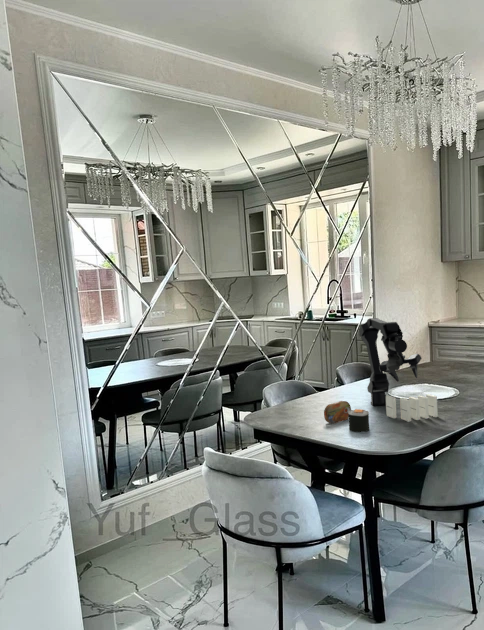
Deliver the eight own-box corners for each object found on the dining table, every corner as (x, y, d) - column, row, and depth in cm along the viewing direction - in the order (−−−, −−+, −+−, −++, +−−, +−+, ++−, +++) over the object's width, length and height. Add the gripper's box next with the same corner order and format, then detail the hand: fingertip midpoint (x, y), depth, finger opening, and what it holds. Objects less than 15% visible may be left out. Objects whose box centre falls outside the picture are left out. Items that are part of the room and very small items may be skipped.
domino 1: (393, 418, 212) (392, 398, 211) (386, 415, 216) (385, 395, 216) (396, 417, 212) (395, 397, 211) (389, 415, 217) (388, 395, 216)
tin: (328, 425, 207) (327, 406, 207) (323, 424, 210) (322, 405, 209) (352, 418, 216) (351, 399, 215) (346, 417, 219) (345, 398, 218)
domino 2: (408, 421, 206) (407, 400, 205) (400, 418, 210) (399, 398, 210) (411, 421, 206) (410, 400, 206) (404, 418, 211) (403, 397, 210)
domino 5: (434, 417, 210) (433, 396, 209) (426, 414, 214) (426, 394, 214) (437, 416, 210) (436, 396, 210) (429, 414, 215) (429, 394, 214)
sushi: (350, 426, 205) (349, 407, 204) (370, 427, 202) (369, 408, 201) (347, 431, 197) (346, 412, 197) (368, 432, 194) (367, 413, 194)
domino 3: (416, 420, 207) (416, 399, 206) (409, 417, 212) (408, 397, 211) (420, 419, 207) (419, 399, 207) (412, 416, 212) (411, 396, 212)
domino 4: (425, 418, 208) (424, 398, 208) (418, 415, 213) (417, 395, 212) (428, 418, 209) (428, 397, 208) (421, 415, 214) (420, 395, 213)
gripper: (368, 361, 218) (382, 391, 220) (406, 352, 206) (421, 384, 208) (377, 350, 227) (391, 379, 228) (414, 341, 214) (428, 372, 216)
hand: (407, 379), depth 220 cm, fingers open, 9 cm apart
